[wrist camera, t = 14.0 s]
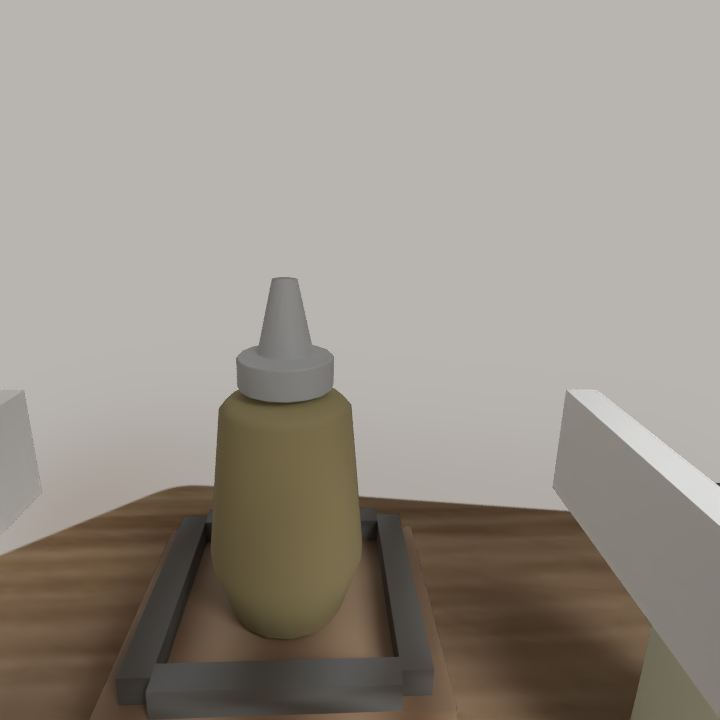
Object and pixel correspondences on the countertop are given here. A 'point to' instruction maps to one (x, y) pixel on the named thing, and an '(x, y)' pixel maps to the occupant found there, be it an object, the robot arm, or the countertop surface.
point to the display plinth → (282, 644)
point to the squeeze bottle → (285, 481)
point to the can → (667, 688)
